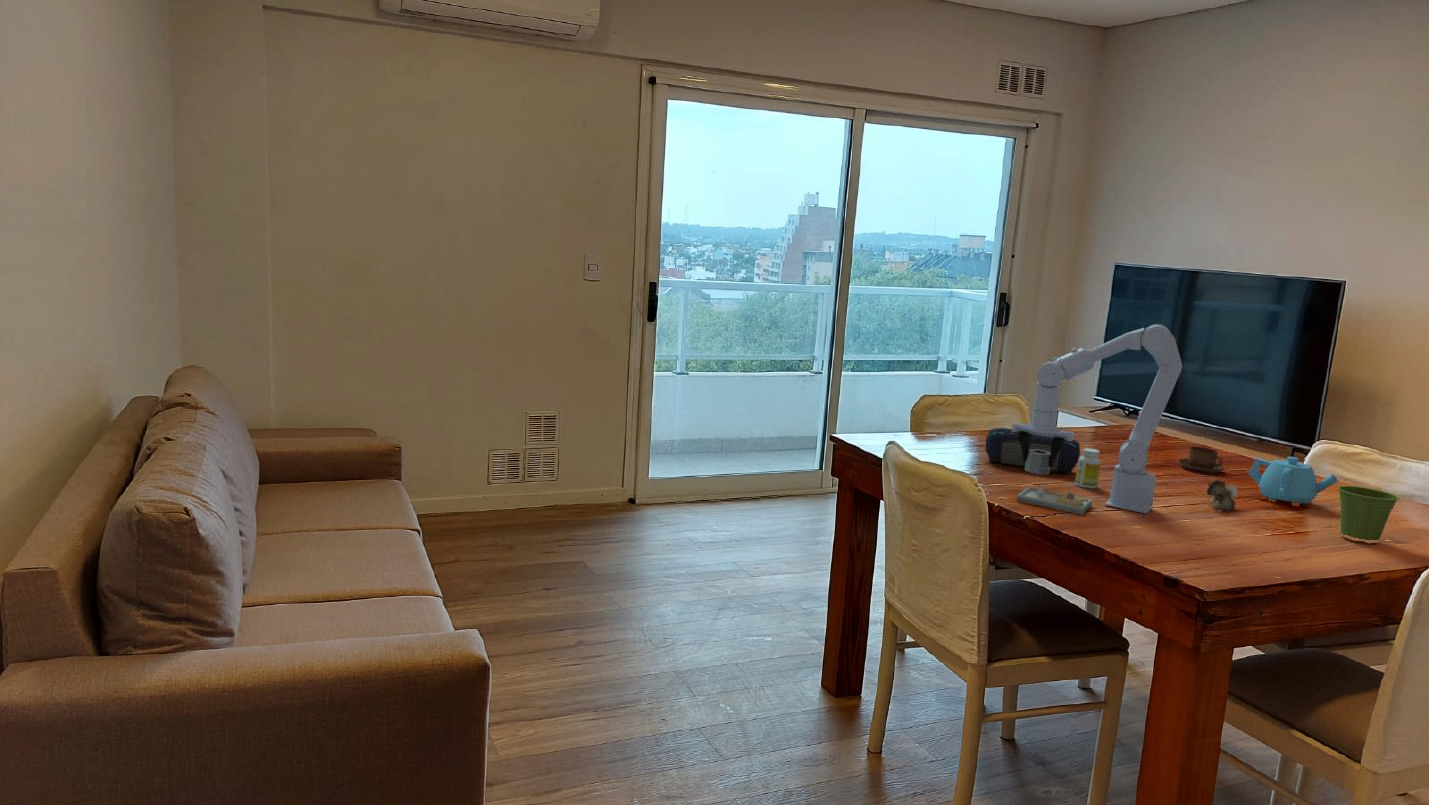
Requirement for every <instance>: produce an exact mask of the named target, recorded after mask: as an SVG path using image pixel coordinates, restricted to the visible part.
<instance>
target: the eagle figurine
mask: <svg viewBox="0 0 1429 805" xmlns="http://www.w3.org/2000/svg"><path fill="white" fill-rule="evenodd" d="M1206 484H1207V485H1208V488H1207V489H1206V493H1207V496H1213V497H1212V499H1210V500H1209V502H1208V504H1210V505H1213V504H1215V503H1216V502H1217V503H1216V504H1215V505H1214V506H1213V507H1212V509H1213V510H1215V511H1217V510H1222V511H1229V512H1230V511H1231V512H1232V511H1234V510H1235V506H1236V502H1235V500H1234V499H1233V498H1237V497H1238V488H1236V486H1234V485H1233V484H1228V485H1227V487H1226V482H1223V481H1221V480H1219V479H1216V480H1214V481H1212V482H1211V483H1210V482H1209V481H1207V482H1206Z"/></svg>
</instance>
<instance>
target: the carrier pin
mask: <svg viewBox="0 0 1429 805" xmlns="http://www.w3.org/2000/svg"><path fill="white" fill-rule="evenodd" d="M1036 489H1037V495H1036V497H1038V498H1042V496H1043V490H1044V486H1041V485H1039V486H1037V487H1036Z"/></svg>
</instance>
